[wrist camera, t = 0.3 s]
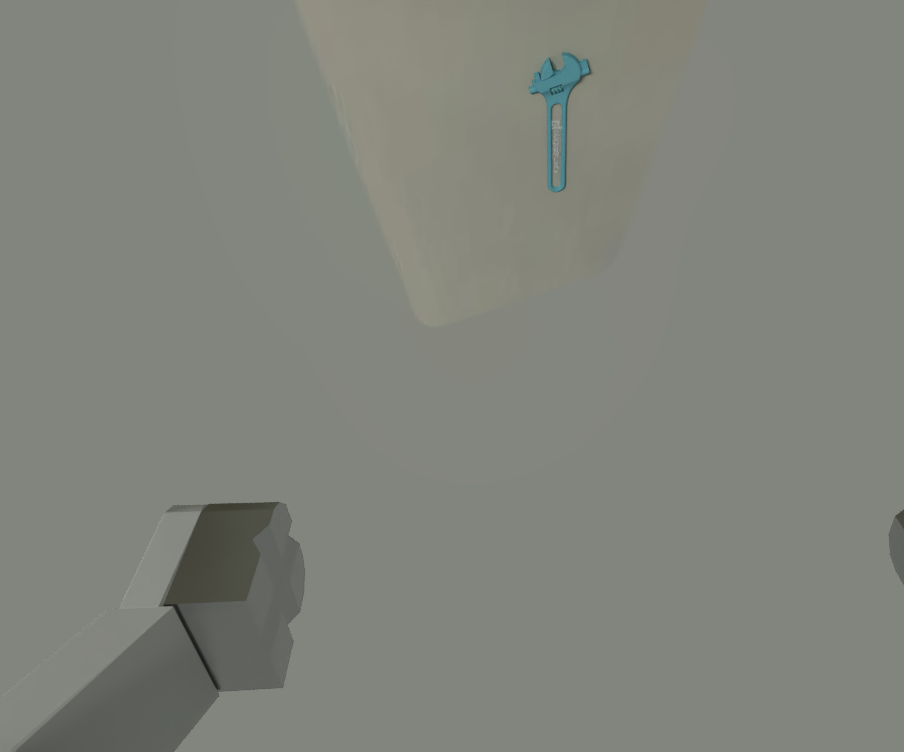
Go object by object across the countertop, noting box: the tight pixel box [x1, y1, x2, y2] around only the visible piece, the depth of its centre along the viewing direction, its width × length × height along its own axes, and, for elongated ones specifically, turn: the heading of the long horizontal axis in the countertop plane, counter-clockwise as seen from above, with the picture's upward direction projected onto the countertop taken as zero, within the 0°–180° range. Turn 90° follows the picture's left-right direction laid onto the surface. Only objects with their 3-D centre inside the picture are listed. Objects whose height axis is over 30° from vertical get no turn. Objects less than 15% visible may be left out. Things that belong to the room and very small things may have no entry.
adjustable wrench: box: [529, 53, 590, 192], centre depth 62 cm, size 14×1×5 cm
